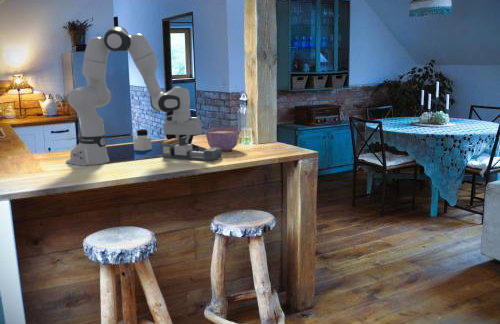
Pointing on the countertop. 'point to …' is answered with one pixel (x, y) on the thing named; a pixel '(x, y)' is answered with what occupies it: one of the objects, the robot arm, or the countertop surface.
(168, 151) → the rail
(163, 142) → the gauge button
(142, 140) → the medicine bottle
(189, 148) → the carriage
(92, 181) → the countertop surface
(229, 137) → the bowl of food
